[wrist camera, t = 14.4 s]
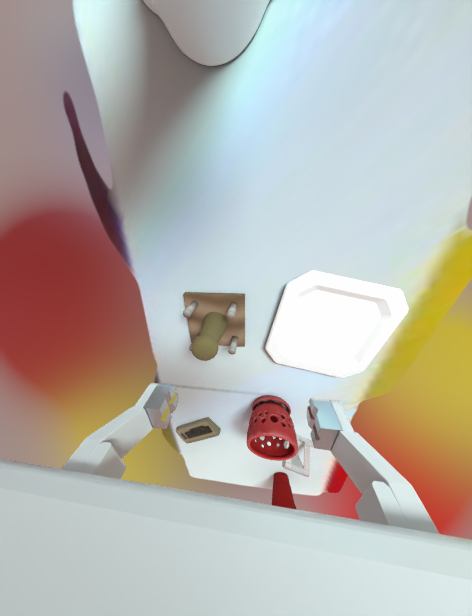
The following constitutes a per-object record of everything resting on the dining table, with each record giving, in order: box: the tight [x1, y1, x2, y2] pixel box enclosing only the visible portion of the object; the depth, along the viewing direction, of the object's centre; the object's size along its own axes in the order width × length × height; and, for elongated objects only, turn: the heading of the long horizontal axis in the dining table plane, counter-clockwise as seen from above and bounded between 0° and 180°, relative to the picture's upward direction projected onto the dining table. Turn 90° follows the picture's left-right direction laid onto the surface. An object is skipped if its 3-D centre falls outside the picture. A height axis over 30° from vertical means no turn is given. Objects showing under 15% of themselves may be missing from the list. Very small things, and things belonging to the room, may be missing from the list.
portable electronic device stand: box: [282, 435, 313, 477], centre depth 58 cm, size 9×8×8 cm
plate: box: [265, 270, 408, 378], centre depth 39 cm, size 25×25×2 cm
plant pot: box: [247, 396, 298, 460], centre depth 49 cm, size 13×13×12 cm
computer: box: [176, 417, 220, 443], centre depth 65 cm, size 16×8×3 cm, turn 124°
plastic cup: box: [272, 472, 296, 509], centre depth 69 cm, size 11×11×12 cm
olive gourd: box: [191, 312, 228, 361], centre depth 37 cm, size 6×6×11 cm
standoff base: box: [183, 292, 245, 354], centre depth 40 cm, size 14×14×6 cm
